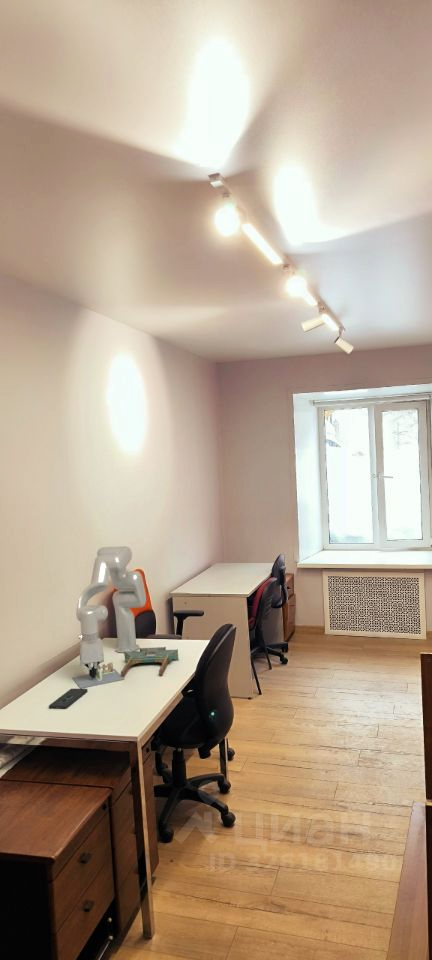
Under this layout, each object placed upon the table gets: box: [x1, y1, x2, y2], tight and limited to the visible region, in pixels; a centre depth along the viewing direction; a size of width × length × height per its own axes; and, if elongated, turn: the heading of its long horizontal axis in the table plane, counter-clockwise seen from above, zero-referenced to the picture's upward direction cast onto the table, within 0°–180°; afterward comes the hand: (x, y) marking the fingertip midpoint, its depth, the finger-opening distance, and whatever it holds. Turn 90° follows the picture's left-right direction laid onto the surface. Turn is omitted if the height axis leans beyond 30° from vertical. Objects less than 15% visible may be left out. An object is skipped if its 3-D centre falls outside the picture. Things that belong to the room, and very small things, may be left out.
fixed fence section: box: [95, 661, 114, 676], centre depth 293 cm, size 9×2×5 cm, turn 114°
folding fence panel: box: [96, 668, 103, 680], centre depth 287 cm, size 8×1×4 cm, turn 27°
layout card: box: [72, 668, 125, 689], centre depth 287 cm, size 17×20×1 cm
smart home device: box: [48, 688, 88, 710], centre depth 263 cm, size 8×2×20 cm
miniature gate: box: [120, 646, 180, 678], centre depth 300 cm, size 27×6×30 cm
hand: (93, 676), depth 285 cm, fingers closed
